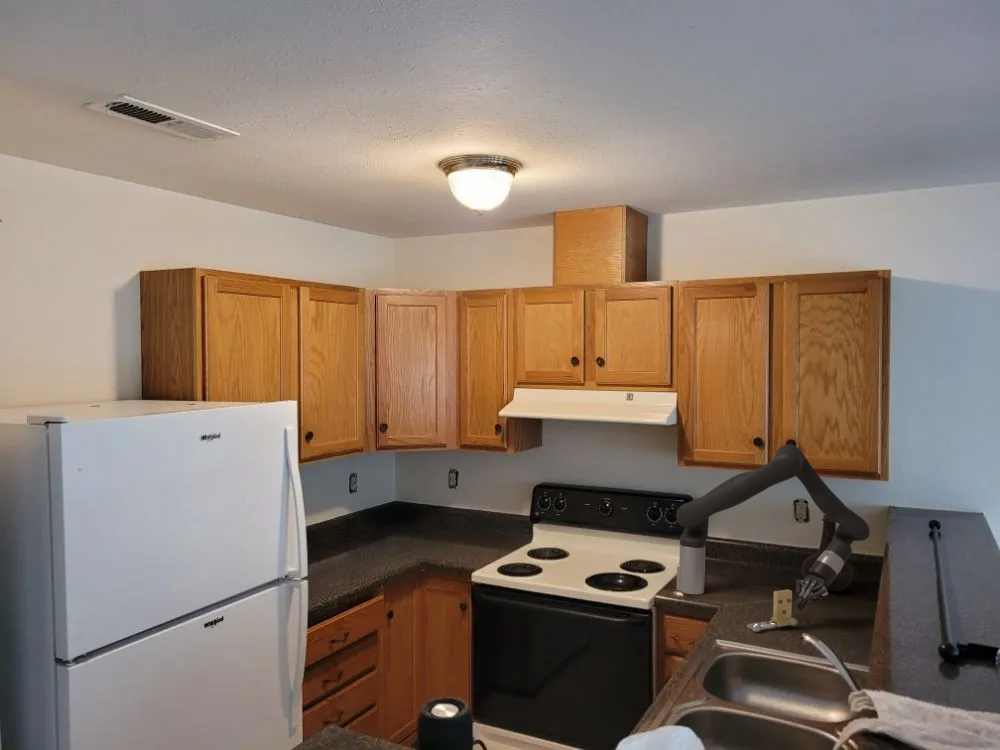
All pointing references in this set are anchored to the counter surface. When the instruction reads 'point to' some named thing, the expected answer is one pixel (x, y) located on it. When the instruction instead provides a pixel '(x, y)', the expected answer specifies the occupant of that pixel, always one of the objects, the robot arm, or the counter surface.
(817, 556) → the glass bottle
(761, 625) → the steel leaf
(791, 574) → the counter surface
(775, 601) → the yellow bracket with holes
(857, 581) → the counter surface
